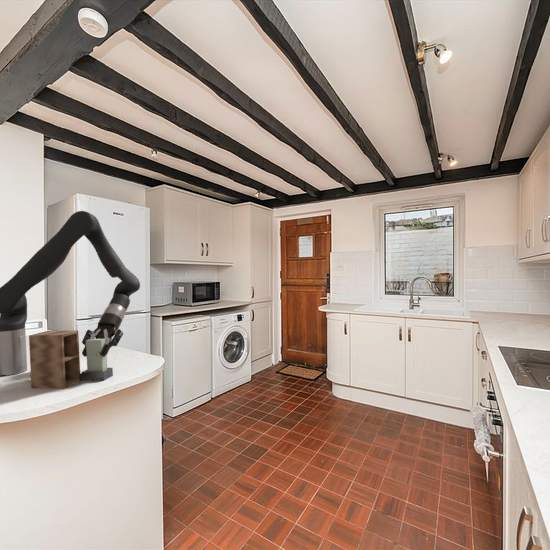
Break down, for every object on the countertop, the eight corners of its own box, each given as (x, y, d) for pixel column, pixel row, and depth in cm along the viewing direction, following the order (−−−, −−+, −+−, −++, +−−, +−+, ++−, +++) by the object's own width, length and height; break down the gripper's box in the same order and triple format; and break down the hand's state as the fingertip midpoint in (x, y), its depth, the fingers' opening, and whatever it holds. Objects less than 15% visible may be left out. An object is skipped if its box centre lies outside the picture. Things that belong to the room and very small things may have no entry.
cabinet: (31, 388, 104) (28, 335, 104) (50, 380, 112) (47, 330, 112) (64, 388, 103) (61, 335, 103) (80, 380, 111) (78, 330, 110)
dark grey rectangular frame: (79, 380, 110) (79, 372, 110) (89, 375, 115) (89, 367, 115) (103, 380, 109) (103, 372, 109) (112, 375, 114) (112, 367, 114)
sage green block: (85, 379, 111) (83, 341, 110) (92, 376, 114) (90, 338, 114) (101, 379, 110) (99, 340, 110) (107, 376, 113) (105, 338, 113)
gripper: (90, 312, 120) (68, 350, 109) (125, 311, 119) (106, 350, 107) (100, 323, 126) (80, 360, 114) (133, 322, 124) (116, 360, 113)
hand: (93, 355), depth 111 cm, fingers open, 6 cm apart
